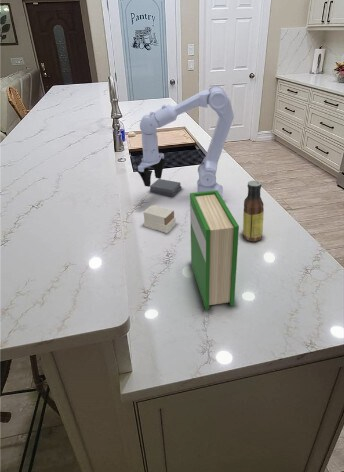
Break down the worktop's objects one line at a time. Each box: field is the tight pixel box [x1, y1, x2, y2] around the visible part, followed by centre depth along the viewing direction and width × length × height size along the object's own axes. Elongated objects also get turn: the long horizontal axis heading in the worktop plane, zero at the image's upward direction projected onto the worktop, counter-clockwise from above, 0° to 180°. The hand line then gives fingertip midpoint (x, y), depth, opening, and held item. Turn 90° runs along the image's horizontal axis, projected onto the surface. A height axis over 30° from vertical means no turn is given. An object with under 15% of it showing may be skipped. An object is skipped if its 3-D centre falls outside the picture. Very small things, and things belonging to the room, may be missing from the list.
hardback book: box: [189, 190, 240, 311], centre depth 85 cm, size 18×7×24 cm, turn 9°
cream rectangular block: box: [143, 217, 177, 234], centre depth 116 cm, size 10×6×3 cm, turn 60°
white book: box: [143, 204, 175, 225], centre depth 115 cm, size 9×6×3 cm, turn 60°
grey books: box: [149, 178, 183, 198], centre depth 140 cm, size 11×8×3 cm
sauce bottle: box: [242, 180, 265, 242], centre depth 104 cm, size 6×6×20 cm
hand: (152, 181), depth 126 cm, fingers open, 7 cm apart
